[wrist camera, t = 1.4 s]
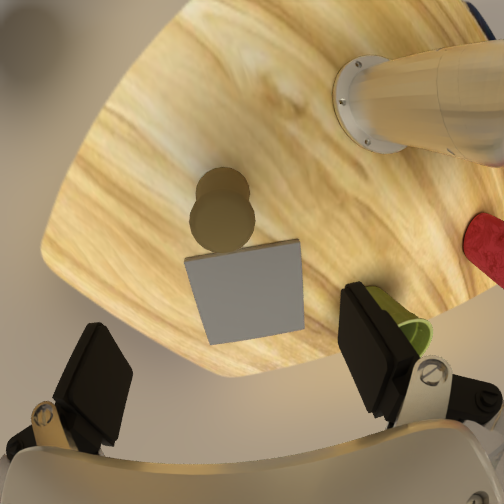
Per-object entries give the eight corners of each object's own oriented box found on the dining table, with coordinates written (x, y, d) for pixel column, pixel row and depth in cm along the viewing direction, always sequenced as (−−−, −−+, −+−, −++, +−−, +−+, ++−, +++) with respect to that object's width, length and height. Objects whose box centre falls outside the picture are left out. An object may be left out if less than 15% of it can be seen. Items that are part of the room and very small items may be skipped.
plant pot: (328, 281, 36) (361, 335, 26) (399, 264, 36) (442, 307, 26) (327, 341, 41) (350, 394, 31) (389, 323, 42) (420, 367, 32)
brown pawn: (249, 218, 31) (261, 263, 21) (196, 220, 31) (184, 265, 21) (250, 166, 29) (264, 187, 19) (194, 167, 28) (178, 189, 18)
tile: (298, 238, 33) (300, 242, 32) (302, 324, 39) (304, 329, 38) (184, 258, 33) (184, 262, 32) (210, 340, 39) (210, 345, 38)
